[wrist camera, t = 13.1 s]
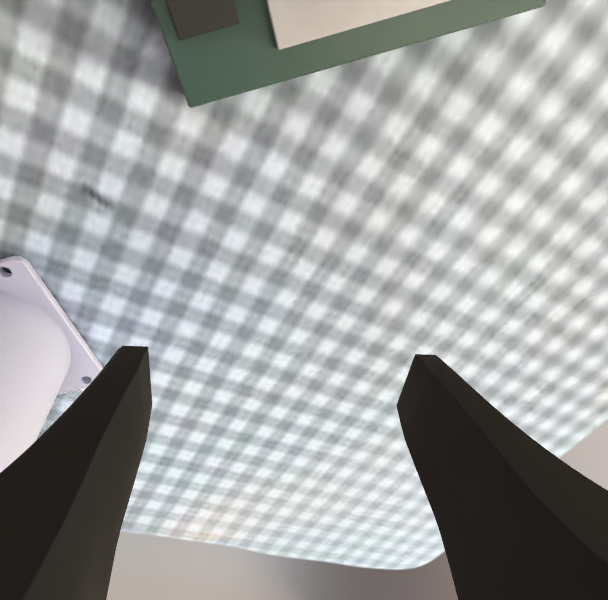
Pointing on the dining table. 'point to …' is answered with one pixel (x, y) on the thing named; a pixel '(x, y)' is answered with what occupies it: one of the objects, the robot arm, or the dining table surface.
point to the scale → (301, 36)
